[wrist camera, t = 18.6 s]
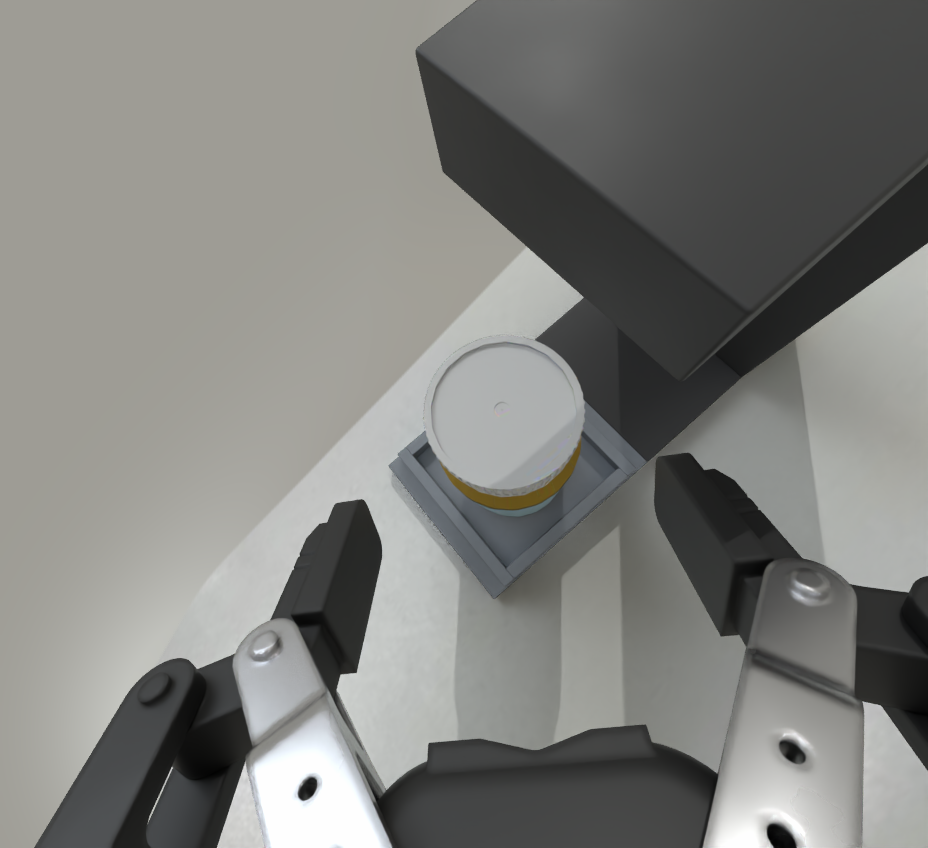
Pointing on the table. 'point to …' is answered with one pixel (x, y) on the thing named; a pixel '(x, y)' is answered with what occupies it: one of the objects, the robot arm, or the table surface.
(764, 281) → the coffee maker
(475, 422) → the bottle
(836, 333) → the table surface
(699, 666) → the table surface
